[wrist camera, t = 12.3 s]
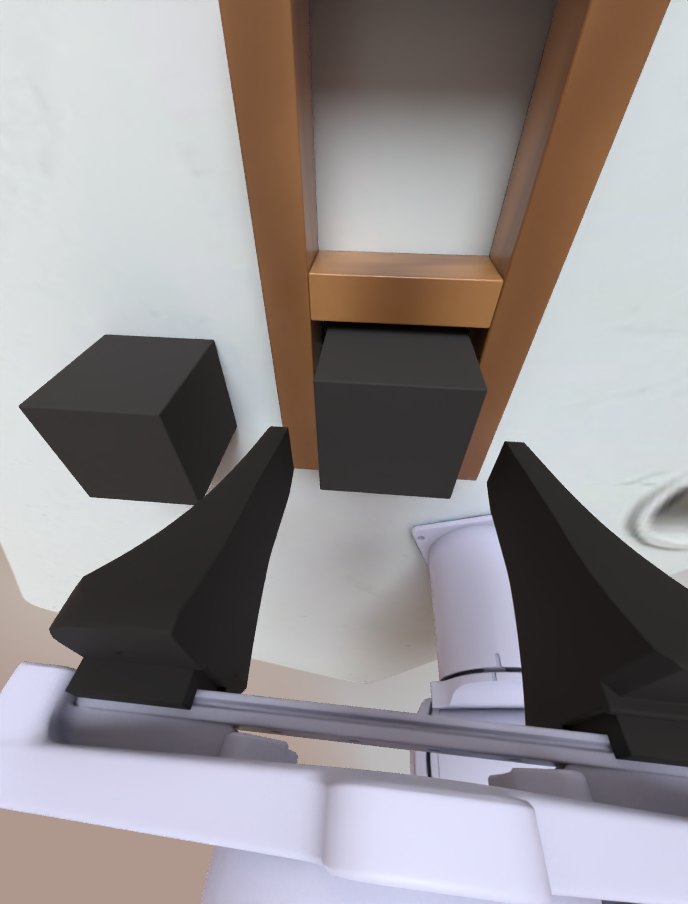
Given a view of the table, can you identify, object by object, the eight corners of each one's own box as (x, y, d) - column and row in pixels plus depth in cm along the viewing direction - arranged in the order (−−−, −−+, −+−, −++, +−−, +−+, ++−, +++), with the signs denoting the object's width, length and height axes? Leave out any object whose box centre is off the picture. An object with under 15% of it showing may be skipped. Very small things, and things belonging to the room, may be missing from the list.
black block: (214, 339, 16) (158, 414, 12) (237, 426, 20) (200, 506, 16) (104, 333, 16) (16, 406, 13) (147, 420, 20) (89, 497, 16)
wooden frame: (679, -161, 7) (772, -245, 6) (468, 446, 19) (476, 481, 18) (230, -146, 8) (184, -219, 6) (297, 435, 20) (288, 468, 18)
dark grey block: (461, 311, 14) (488, 389, 10) (436, 413, 18) (450, 499, 14) (332, 305, 15) (312, 380, 11) (334, 407, 18) (319, 489, 14)
